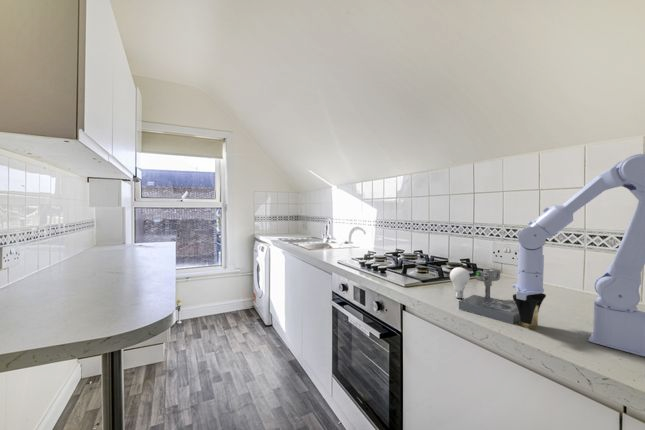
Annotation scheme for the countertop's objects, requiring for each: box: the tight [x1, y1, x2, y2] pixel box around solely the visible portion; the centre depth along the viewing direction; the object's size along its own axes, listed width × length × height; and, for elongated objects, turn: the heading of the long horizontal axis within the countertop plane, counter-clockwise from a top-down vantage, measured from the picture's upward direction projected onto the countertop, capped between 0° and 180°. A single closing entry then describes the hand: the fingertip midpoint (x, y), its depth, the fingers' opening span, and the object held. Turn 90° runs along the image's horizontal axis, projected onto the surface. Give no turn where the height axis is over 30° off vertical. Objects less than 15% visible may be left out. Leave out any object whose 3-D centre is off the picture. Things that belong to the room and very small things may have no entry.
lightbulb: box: [449, 266, 471, 300], centre depth 102 cm, size 6×6×11 cm
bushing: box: [519, 305, 539, 330], centre depth 78 cm, size 4×4×6 cm
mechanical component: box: [475, 268, 501, 299], centre depth 103 cm, size 3×10×10 cm, turn 111°
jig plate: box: [458, 294, 520, 325], centre depth 89 cm, size 15×11×2 cm
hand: (528, 320), depth 78 cm, fingers closed on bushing, 4 cm apart
